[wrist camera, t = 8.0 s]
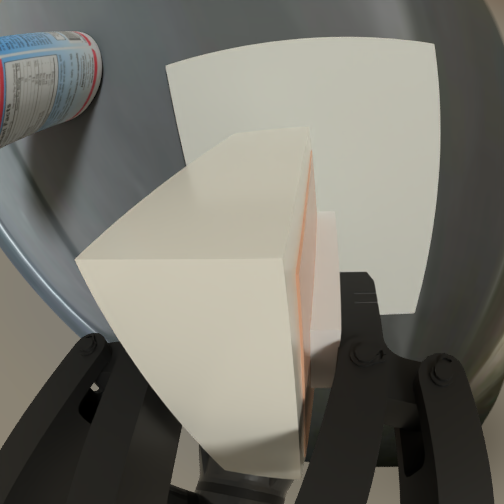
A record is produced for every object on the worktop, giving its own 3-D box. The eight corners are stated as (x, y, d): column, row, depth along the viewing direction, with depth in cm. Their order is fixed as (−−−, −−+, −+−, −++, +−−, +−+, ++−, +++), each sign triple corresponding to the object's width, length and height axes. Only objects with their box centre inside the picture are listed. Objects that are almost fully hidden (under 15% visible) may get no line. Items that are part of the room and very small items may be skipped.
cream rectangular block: (320, 317, 15) (302, 480, 8) (266, 316, 16) (224, 470, 9) (310, 126, 10) (287, 258, 3) (234, 133, 11) (74, 259, 4)
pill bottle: (35, 74, 13) (-98, 122, 4) (85, 14, 10) (-79, 30, 1) (65, 136, 15) (-73, 214, 6) (121, 81, 13) (-66, 137, 4)
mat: (413, 308, 17) (414, 313, 17) (226, 309, 20) (225, 312, 20) (431, 44, 9) (433, 44, 8) (169, 65, 12) (165, 65, 12)
